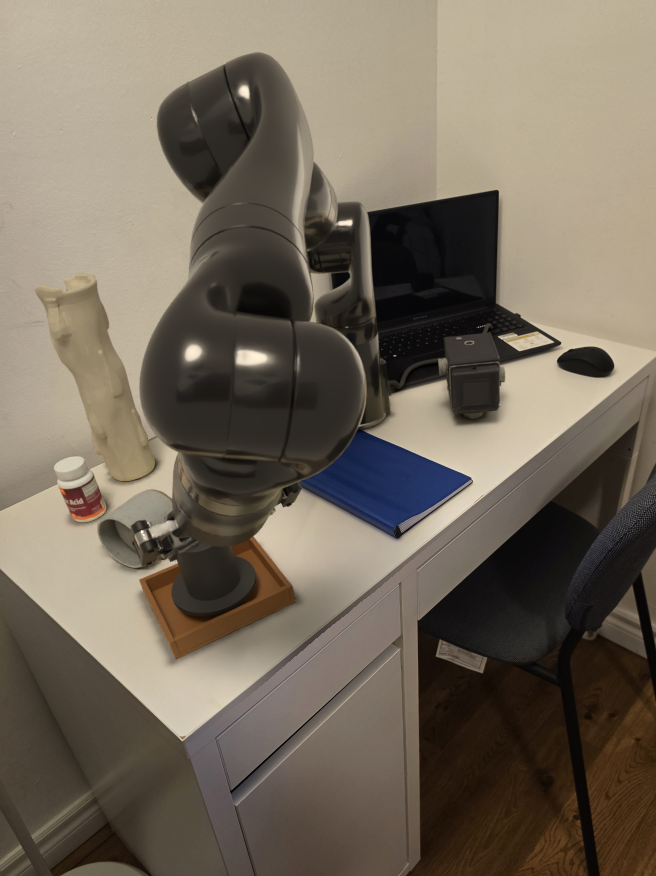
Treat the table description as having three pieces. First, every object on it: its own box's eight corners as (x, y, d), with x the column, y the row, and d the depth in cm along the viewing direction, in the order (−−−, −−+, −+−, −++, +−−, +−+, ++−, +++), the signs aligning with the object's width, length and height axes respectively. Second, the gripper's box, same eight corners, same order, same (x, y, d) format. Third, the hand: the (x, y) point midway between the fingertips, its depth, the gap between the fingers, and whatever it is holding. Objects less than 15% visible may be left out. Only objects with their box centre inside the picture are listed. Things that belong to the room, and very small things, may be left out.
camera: (436, 398, 115) (444, 432, 102) (432, 334, 109) (440, 361, 96) (497, 392, 114) (513, 426, 101) (496, 327, 109) (513, 354, 96)
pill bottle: (65, 520, 93) (42, 471, 88) (88, 501, 96) (67, 452, 91) (92, 525, 91) (70, 475, 86) (114, 505, 95) (94, 456, 90)
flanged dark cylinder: (241, 557, 81) (224, 497, 76) (272, 601, 74) (256, 538, 69) (165, 590, 78) (142, 529, 72) (191, 639, 71) (168, 576, 65)
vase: (119, 492, 97) (40, 291, 80) (93, 473, 103) (15, 281, 85) (169, 466, 102) (105, 271, 85) (142, 450, 107) (77, 263, 90)
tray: (254, 547, 83) (250, 532, 82) (296, 601, 75) (292, 585, 73) (145, 595, 78) (138, 579, 77) (175, 659, 69) (169, 643, 68)
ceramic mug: (193, 534, 87) (177, 486, 83) (154, 573, 81) (134, 524, 77) (131, 522, 91) (112, 475, 87) (89, 559, 85) (67, 511, 81)
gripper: (293, 406, 50) (264, 470, 65) (107, 473, 45) (121, 526, 60) (336, 493, 49) (296, 538, 64) (151, 572, 44) (155, 601, 59)
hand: (212, 532), depth 62 cm, fingers open, 8 cm apart
